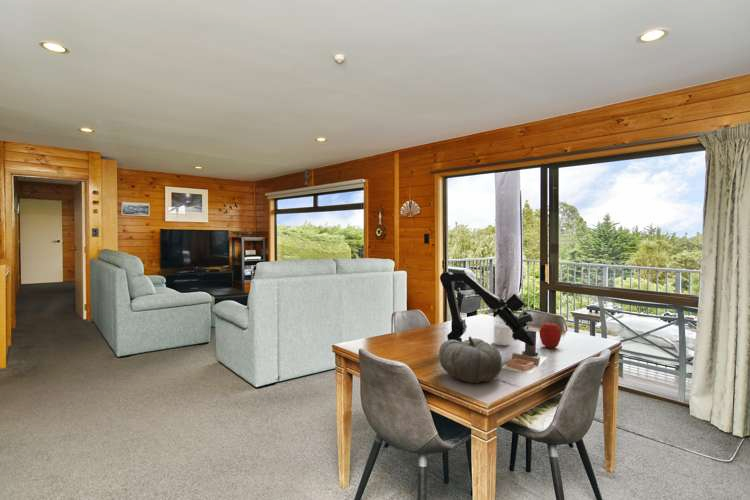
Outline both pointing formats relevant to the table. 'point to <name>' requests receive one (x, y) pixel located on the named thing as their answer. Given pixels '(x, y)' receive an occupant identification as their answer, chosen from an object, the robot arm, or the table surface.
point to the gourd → (470, 360)
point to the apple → (550, 335)
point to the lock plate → (527, 358)
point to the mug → (502, 334)
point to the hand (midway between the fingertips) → (533, 344)
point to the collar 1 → (524, 365)
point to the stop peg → (528, 348)
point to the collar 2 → (534, 356)
